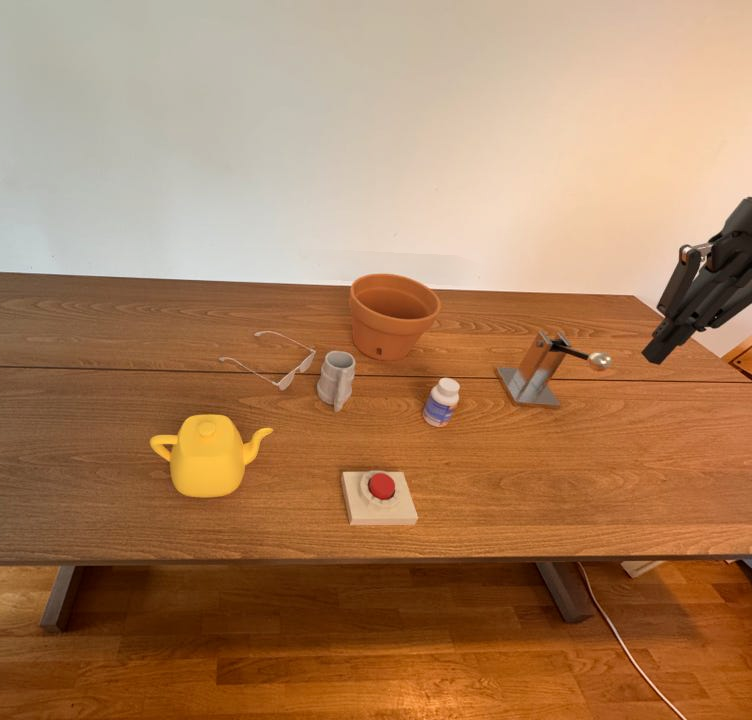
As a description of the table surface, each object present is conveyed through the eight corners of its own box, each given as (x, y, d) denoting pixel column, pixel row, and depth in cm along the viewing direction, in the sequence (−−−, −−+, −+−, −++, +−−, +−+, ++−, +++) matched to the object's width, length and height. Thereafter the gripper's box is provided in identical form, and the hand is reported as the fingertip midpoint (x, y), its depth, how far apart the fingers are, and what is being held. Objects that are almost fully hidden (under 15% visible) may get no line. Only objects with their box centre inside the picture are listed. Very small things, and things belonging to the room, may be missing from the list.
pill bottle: (444, 431, 86) (460, 397, 80) (418, 420, 88) (432, 386, 82) (450, 415, 90) (466, 382, 84) (425, 405, 92) (439, 371, 86)
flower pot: (437, 346, 109) (457, 296, 100) (396, 383, 97) (413, 331, 88) (369, 312, 120) (381, 265, 111) (324, 342, 108) (333, 292, 98)
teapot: (271, 505, 71) (276, 460, 63) (150, 509, 69) (140, 463, 61) (266, 443, 81) (270, 397, 73) (161, 445, 79) (153, 398, 72)
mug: (348, 383, 96) (358, 341, 88) (354, 421, 87) (366, 378, 79) (315, 381, 96) (322, 339, 88) (317, 419, 87) (325, 376, 79)
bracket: (558, 409, 93) (594, 357, 84) (513, 405, 93) (544, 354, 84) (534, 373, 103) (565, 323, 93) (494, 370, 103) (520, 320, 93)
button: (389, 478, 72) (391, 472, 71) (395, 499, 69) (398, 493, 68) (366, 478, 72) (368, 472, 71) (371, 499, 69) (374, 493, 68)
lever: (614, 374, 75) (619, 354, 74) (593, 372, 75) (599, 353, 74) (553, 352, 92) (557, 336, 91) (537, 351, 92) (540, 334, 91)
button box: (399, 478, 77) (405, 465, 74) (414, 525, 70) (421, 512, 67) (340, 478, 76) (344, 465, 73) (349, 525, 69) (354, 512, 66)
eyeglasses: (277, 397, 91) (278, 383, 89) (216, 361, 99) (215, 348, 97) (315, 362, 101) (317, 349, 99) (256, 333, 109) (257, 320, 106)
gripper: (819, 207, 53) (680, 356, 67) (710, 184, 54) (596, 335, 68) (874, 226, 47) (709, 384, 61) (750, 200, 48) (616, 361, 62)
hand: (650, 358), depth 65 cm, fingers closed
